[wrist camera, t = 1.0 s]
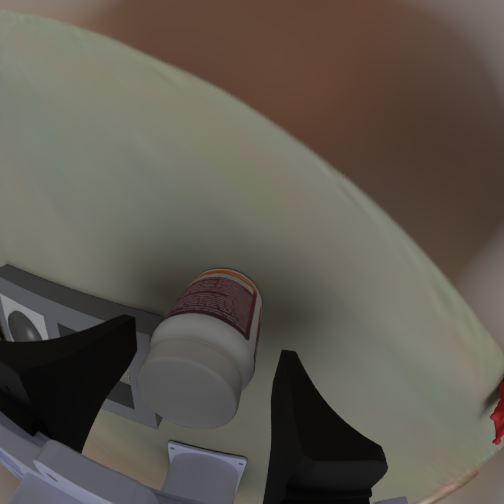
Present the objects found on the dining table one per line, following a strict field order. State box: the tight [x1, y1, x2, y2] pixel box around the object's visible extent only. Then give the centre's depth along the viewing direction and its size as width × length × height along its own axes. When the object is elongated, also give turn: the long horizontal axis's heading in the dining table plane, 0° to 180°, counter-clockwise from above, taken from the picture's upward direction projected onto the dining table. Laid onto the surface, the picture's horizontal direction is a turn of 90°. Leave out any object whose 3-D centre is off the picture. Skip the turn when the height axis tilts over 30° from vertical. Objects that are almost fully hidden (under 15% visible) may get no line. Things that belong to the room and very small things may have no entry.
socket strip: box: [0, 264, 163, 429], centre depth 18 cm, size 10×18×3 cm, turn 81°
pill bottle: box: [136, 268, 262, 429], centre depth 13 cm, size 5×5×8 cm
